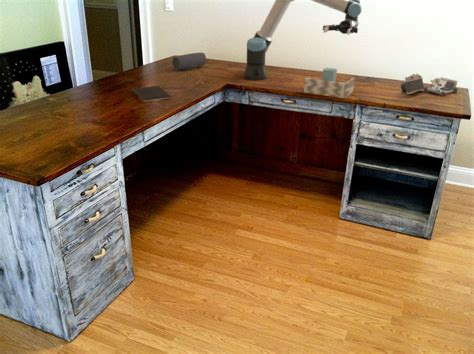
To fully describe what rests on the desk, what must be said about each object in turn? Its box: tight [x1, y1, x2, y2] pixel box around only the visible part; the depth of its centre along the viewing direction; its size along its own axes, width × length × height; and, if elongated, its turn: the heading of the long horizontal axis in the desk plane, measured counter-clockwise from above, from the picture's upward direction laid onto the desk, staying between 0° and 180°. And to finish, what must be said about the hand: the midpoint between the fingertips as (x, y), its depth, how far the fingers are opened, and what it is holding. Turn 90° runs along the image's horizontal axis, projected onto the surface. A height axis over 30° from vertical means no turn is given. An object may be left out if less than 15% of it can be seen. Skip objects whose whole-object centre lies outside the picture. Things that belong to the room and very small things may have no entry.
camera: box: [400, 72, 425, 95], centre depth 249 cm, size 9×16×10 cm, turn 132°
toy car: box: [423, 76, 458, 97], centre depth 249 cm, size 18×10×12 cm
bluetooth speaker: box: [172, 52, 207, 71], centre depth 296 cm, size 23×9×10 cm, turn 133°
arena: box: [303, 76, 356, 99], centre depth 248 cm, size 24×16×8 cm, turn 62°
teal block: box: [321, 67, 338, 82], centre depth 245 cm, size 6×6×12 cm
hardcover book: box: [131, 85, 172, 101], centre depth 240 cm, size 16×23×2 cm
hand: (336, 31), depth 244 cm, fingers open, 13 cm apart
